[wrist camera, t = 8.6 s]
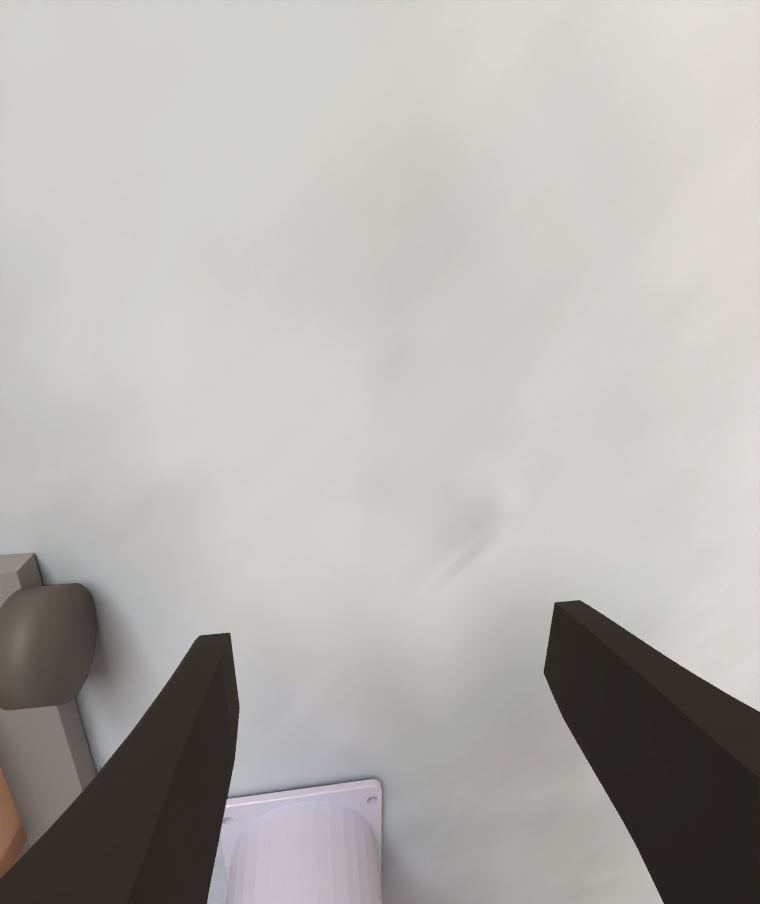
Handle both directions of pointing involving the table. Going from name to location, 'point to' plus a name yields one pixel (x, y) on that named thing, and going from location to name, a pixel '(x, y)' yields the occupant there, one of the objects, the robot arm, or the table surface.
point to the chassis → (40, 702)
